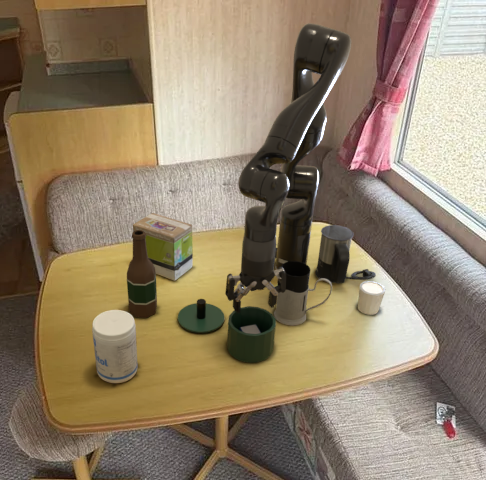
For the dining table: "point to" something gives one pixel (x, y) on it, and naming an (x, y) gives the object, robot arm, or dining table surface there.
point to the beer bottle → (141, 279)
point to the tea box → (167, 244)
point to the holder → (295, 294)
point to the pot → (251, 344)
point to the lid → (201, 317)
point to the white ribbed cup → (370, 297)
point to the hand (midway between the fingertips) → (254, 308)
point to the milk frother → (337, 255)
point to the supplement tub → (115, 346)
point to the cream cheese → (250, 329)
